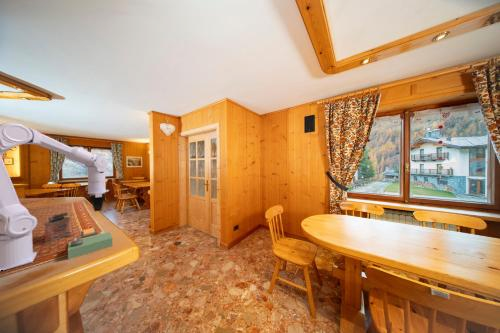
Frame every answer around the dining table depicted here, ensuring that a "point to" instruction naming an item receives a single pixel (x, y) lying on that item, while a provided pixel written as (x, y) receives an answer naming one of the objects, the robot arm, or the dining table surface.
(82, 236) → the grey box orange face
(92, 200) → the robot arm
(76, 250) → the deck
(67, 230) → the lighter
